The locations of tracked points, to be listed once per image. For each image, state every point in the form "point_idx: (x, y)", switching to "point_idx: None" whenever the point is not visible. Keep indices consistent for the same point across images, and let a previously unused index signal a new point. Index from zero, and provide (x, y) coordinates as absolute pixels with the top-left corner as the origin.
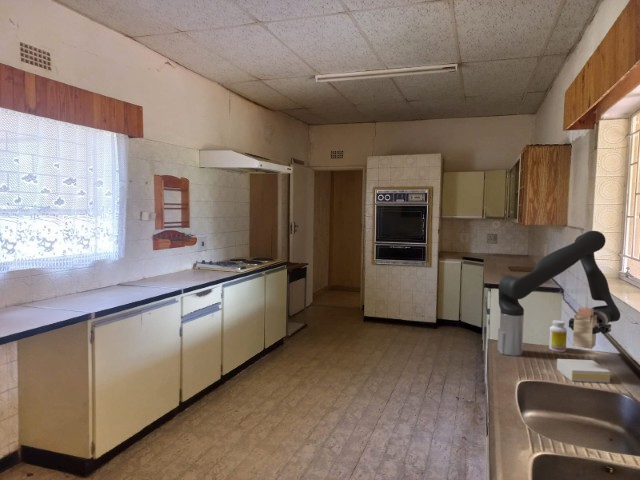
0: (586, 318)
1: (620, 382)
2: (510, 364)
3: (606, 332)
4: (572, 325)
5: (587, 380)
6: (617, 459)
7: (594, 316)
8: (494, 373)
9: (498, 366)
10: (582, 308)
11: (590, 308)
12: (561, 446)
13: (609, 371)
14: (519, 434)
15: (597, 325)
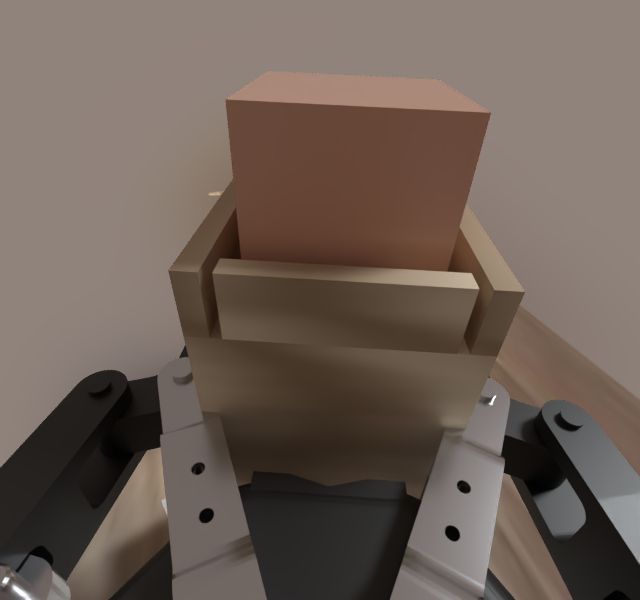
0: None
1: (107, 589)
2: (628, 460)
3: (86, 461)
4: None
5: None
6: (214, 193)
7: (220, 209)
8: (553, 336)
9: (618, 402)
10: (403, 86)
11: (286, 98)
12: None
13: (164, 503)
14: None
15: (187, 403)
